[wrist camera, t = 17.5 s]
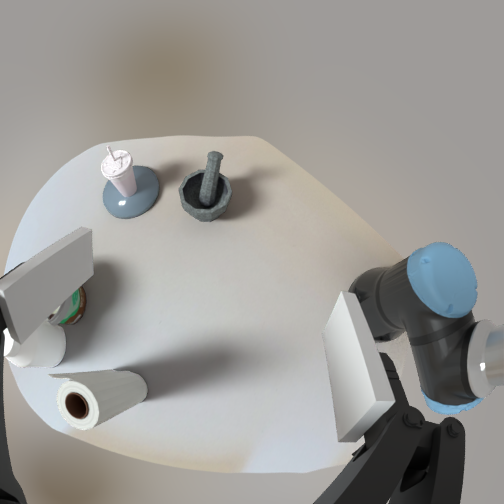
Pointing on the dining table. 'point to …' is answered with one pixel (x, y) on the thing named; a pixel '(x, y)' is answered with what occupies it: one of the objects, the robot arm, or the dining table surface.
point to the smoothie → (120, 171)
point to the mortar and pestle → (206, 191)
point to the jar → (37, 347)
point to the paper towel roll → (98, 396)
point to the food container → (70, 309)
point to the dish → (136, 202)
